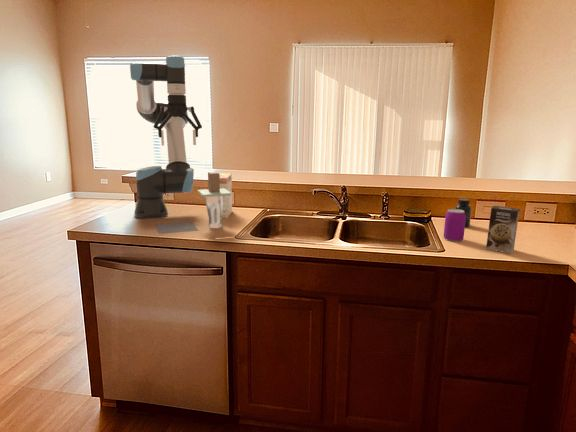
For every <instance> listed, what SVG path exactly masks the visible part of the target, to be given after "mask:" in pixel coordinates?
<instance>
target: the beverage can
mask: <svg viewBox="0 0 576 432" xmlns="http://www.w3.org/2000/svg"><path fill="white" fill-rule="evenodd" d="M465 221H466V216H465V212H464V210H460V209H455V208H448V209H447V211H446V213H445V219H444V226H443V227H444V228H443V229H444V230H443V238H444V239H445V240H446V239H447V240H446V241H449V240H450V241H449V242H455V241H458V242H461V241H462V240H464V239H465V238H464V236H465V228H466V227H465Z"/></svg>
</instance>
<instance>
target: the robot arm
mask: <svg viewBox="0 0 576 432" xmlns="http://www.w3.org/2000/svg"><path fill="white" fill-rule="evenodd" d="M129 66H130V67H129V70H130V78H131V80H132V81H135V84H136V93H137V101H136V110H137V113H138V114H139V115H140V117H142V118H143V119H144V120H145V121H147V122H149V123H151V124H154V125H153V129H156V130H157V131H158V138H160V140H161V146H165V141H164V140H165V139H164V138H165V137H164V129H165V131H166V133H165V134H166V142H167V143H166V144H167V145H166V148H167V156H168V157H167V158H168V163H167V165H166V167H165V169H164V168H162V165H161V166H160V165H153V166H145V167H141V168H139V169H137V171H136V173H135V175H136V177H135V181H136V193H137V195H136V196H137V202H136V206H135V210H134V217H135V218H137V219H142V220H143V219H157V218H164V217H167V216H168V215H169V212H168V208H167V205H166V203H165V200H164V194H184V193H192V191H193V189H194V175H195V174H194V172H195V171H194V170H195V169H194V168H192V167H191V165H190V164H189V163H188V162H187V155H186V153H187V152H186V143H185V134H184V133H185V132H184V128H185V127H186V125H187V124H188V123H189V124H190V125H191V127H192V128H193V129H192V145H193V146H197V138H198V137H199V130H200V129H202V128H203V125H202V123H201V121H200V120H199V118H198V116H197V114H196V112H195V107H194V106H187V96H186V94H187V93H186V91H187V90H186V69H185V67H186V63H185V58H184V57H183V56H181V55H168V56H166V58H165V62H164V63H163V62H147V61H146V62H143V61H136V62H135V61H133V62H130V64H129ZM155 82H166V87H167V88H166V90H167V94H168V95H167V100H155V86H154V83H155ZM188 112H189V113H190V114H191V115H192V118H193V120H194V121H195V123H194V121H193V120H192V119H191V118H190V117H189V115H188ZM163 128H164V129H163Z"/></svg>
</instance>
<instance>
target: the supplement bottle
mask: <svg viewBox="0 0 576 432" xmlns="http://www.w3.org/2000/svg"><path fill="white" fill-rule="evenodd" d="M470 201H471V200H470V199H468V198H458V201H457V204H456V206H455V208H454V209H460V210H464V212H465V216H466V221H465V228H467V227H468V228H469V227H471V226H470V225H471V218H472V206H471V205H470V204H471V202H470Z"/></svg>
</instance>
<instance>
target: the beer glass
mask: <svg viewBox="0 0 576 432" xmlns="http://www.w3.org/2000/svg"><path fill="white" fill-rule="evenodd" d="M205 198H206V199H205V205H206V213H207V217H208V224H207V227H208V228H209V229H221V228H222V227H223V223H222V218H221V214H222V207H223V200H222V196H214V197H205Z"/></svg>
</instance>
